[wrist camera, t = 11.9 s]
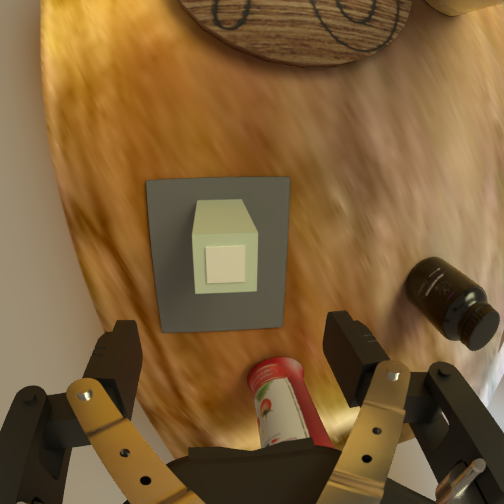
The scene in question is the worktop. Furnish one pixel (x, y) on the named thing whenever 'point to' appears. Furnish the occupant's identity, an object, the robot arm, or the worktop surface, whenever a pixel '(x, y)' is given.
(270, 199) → the mat
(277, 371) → the red sauce bottle
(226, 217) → the block
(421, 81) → the worktop surface
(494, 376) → the worktop surface
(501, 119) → the worktop surface
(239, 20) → the trivet
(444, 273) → the supplement bottle
